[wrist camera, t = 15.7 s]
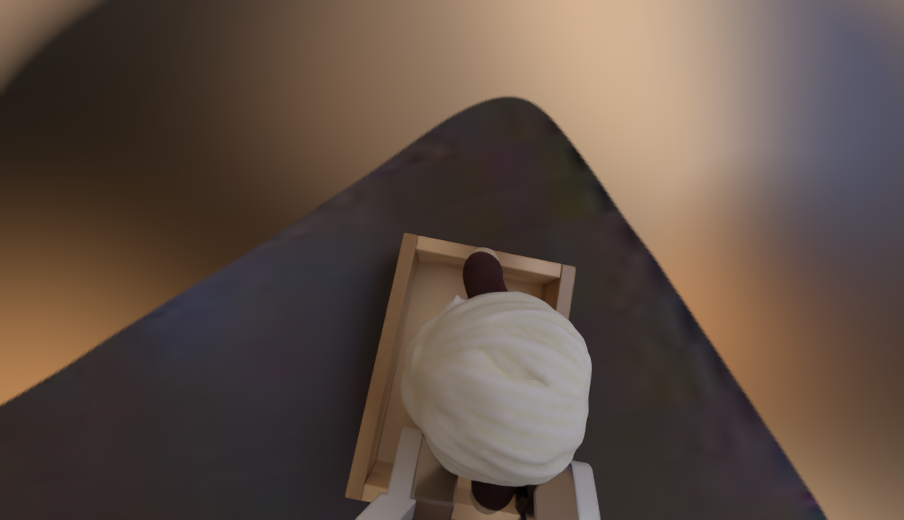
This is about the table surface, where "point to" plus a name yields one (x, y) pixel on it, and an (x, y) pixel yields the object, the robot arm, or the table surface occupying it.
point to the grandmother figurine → (498, 386)
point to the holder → (410, 306)
